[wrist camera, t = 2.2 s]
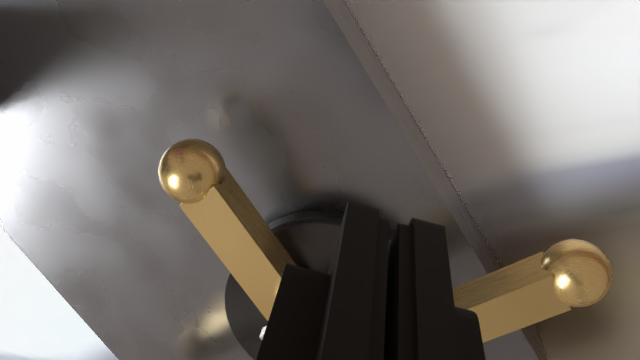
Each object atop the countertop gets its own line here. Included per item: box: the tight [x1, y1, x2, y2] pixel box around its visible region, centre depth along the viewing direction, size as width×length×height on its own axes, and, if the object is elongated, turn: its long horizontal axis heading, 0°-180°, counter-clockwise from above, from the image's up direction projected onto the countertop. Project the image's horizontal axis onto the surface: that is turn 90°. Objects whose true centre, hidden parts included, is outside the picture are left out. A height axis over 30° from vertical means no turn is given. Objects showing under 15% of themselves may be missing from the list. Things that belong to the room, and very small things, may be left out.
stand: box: [0, 0, 548, 360], centre depth 16 cm, size 22×14×15 cm, turn 32°
